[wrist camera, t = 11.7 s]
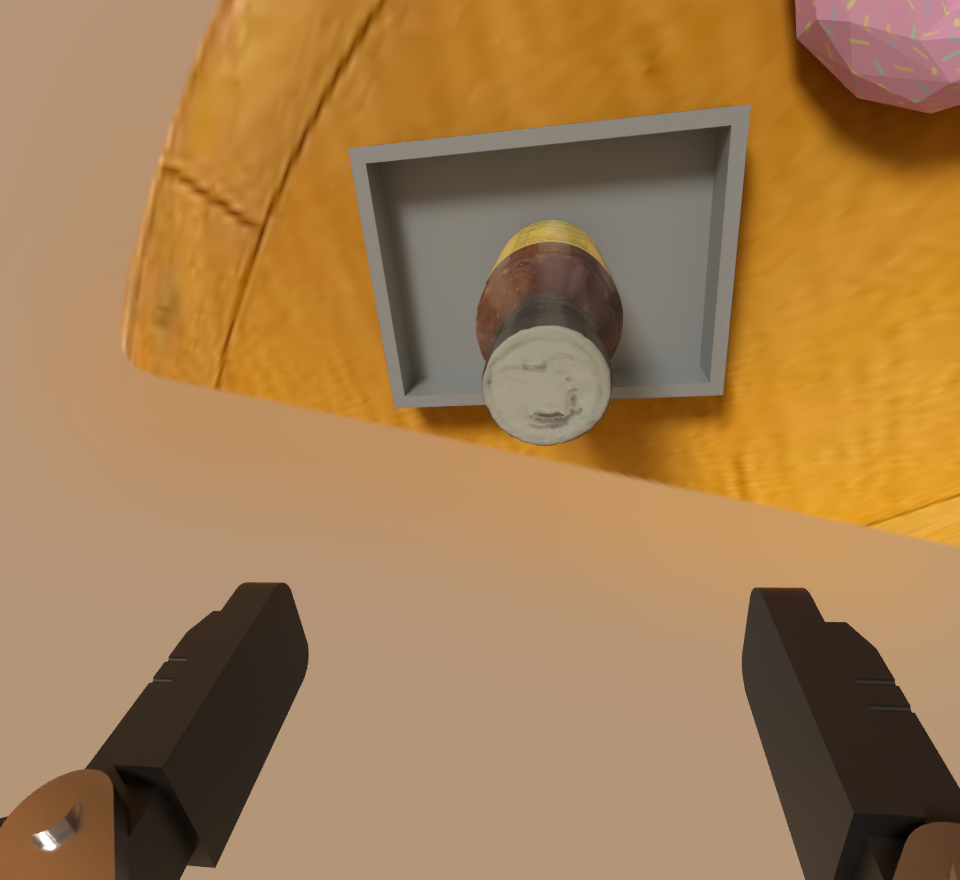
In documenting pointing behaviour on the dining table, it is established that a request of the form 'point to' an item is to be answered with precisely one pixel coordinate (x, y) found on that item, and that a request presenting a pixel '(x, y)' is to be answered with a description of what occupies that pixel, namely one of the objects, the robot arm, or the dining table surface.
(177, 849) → the robot arm
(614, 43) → the dining table surface
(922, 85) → the donut
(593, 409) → the sauce bottle
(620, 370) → the tray
